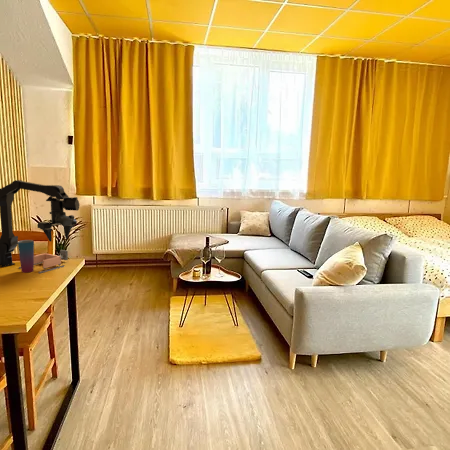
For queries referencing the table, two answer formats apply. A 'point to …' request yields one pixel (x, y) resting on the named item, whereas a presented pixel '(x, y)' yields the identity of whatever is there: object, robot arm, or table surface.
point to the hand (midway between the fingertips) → (58, 239)
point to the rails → (48, 269)
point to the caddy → (51, 259)
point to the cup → (26, 255)
